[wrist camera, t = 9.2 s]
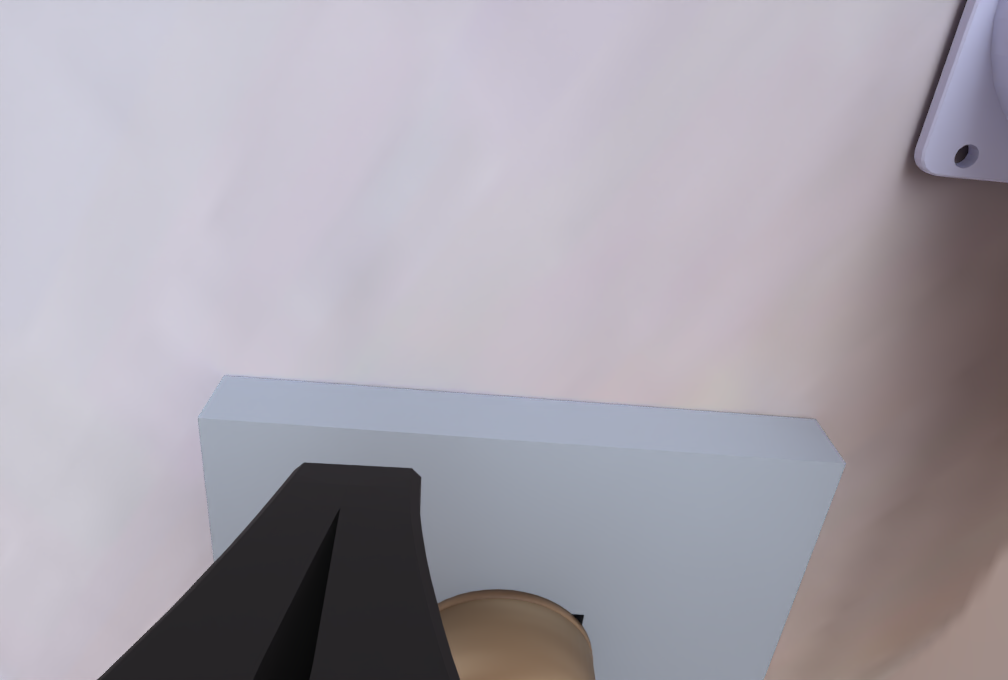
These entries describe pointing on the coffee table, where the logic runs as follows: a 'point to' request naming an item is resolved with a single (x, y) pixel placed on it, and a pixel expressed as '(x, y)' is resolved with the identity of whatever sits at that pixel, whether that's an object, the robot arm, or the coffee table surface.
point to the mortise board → (564, 506)
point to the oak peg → (515, 637)
